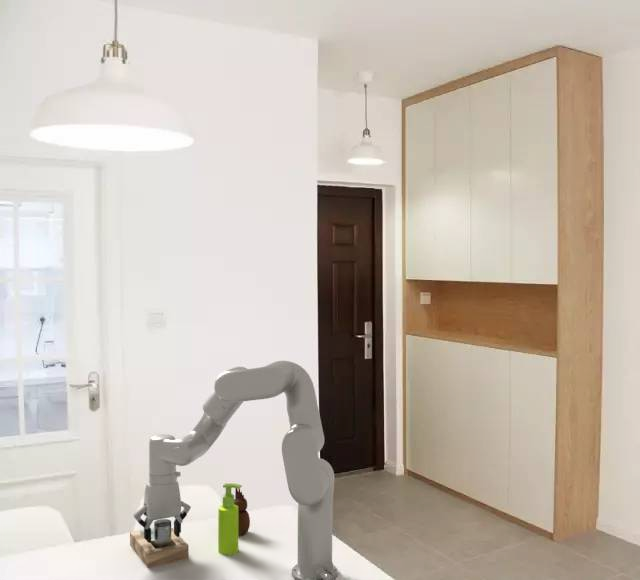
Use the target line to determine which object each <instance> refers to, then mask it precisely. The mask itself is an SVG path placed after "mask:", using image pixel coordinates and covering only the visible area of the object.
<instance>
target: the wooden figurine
mask: <svg viewBox="0 0 640 580" xmlns="http://www.w3.org/2000/svg"><path fill="white" fill-rule="evenodd" d="M234 505H237V506H238V537H240V536H245V535H246V534H247V533H248V532H249V529H250V525H251V518H250V515H249V512H248V511H247V509H248V501H247V499H246V498H245V495H244V494H243V492H242V491H241V488H240V489H237V488H235V494H234Z"/></svg>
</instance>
